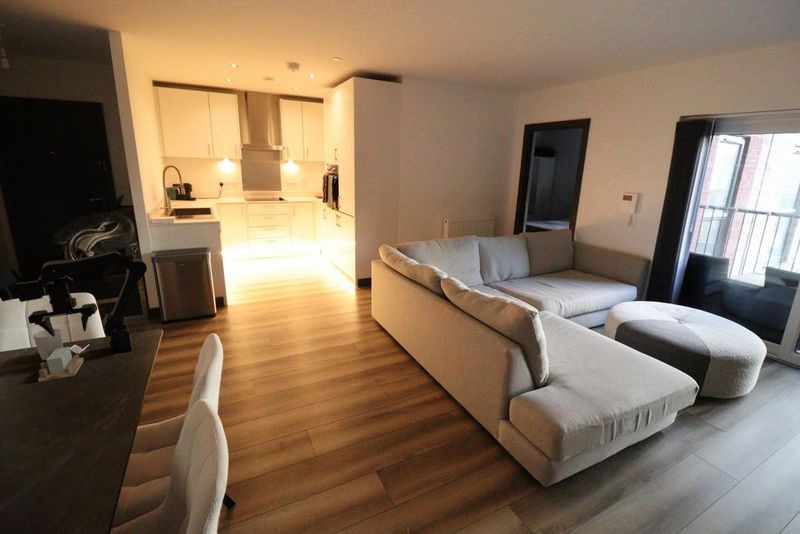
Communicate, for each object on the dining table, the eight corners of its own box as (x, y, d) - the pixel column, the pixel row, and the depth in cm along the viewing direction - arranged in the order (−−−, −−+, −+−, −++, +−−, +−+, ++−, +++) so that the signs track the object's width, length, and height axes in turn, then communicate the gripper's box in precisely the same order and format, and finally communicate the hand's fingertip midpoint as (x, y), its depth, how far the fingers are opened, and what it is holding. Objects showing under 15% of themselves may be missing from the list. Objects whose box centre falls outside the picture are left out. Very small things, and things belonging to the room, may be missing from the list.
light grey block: (72, 360, 143) (69, 346, 141) (64, 372, 135) (61, 357, 133) (59, 362, 141) (55, 348, 139) (50, 374, 133) (46, 359, 131)
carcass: (84, 359, 146) (80, 346, 144) (74, 375, 135) (71, 360, 134) (51, 365, 141) (47, 351, 140) (38, 381, 131) (34, 366, 129)
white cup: (44, 353, 150) (38, 330, 147) (68, 349, 153) (63, 327, 150) (35, 362, 143) (29, 338, 140) (61, 358, 146) (55, 335, 144)
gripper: (95, 285, 148) (104, 320, 153) (33, 292, 139) (44, 330, 144) (89, 293, 139) (98, 331, 143) (22, 302, 130) (34, 342, 135)
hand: (69, 333), depth 141 cm, fingers open, 9 cm apart
